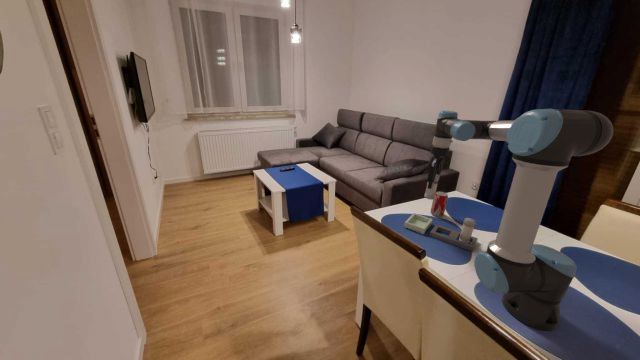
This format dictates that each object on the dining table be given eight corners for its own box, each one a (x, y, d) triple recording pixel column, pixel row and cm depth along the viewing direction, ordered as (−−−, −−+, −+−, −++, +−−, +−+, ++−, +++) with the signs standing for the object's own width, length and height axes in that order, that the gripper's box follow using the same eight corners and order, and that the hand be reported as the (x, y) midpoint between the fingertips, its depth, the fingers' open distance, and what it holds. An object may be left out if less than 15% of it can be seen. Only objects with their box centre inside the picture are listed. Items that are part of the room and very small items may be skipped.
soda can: (427, 212, 148) (431, 191, 144) (436, 210, 151) (441, 190, 147) (437, 218, 143) (442, 197, 138) (446, 216, 145) (451, 195, 141)
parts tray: (423, 234, 127) (424, 229, 126) (403, 227, 132) (404, 222, 131) (431, 224, 136) (432, 219, 135) (412, 217, 142) (413, 212, 141)
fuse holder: (472, 251, 115) (480, 228, 111) (429, 235, 126) (434, 214, 122) (476, 241, 123) (483, 219, 118) (435, 227, 134) (440, 206, 129)
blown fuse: (432, 200, 124) (437, 177, 120) (423, 197, 127) (427, 174, 122) (435, 197, 128) (440, 174, 123) (426, 194, 130) (431, 172, 126)
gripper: (443, 151, 109) (432, 200, 118) (454, 144, 121) (443, 189, 130) (426, 147, 113) (416, 195, 122) (438, 141, 126) (428, 185, 135)
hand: (430, 192), depth 126 cm, fingers closed on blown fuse, 4 cm apart
